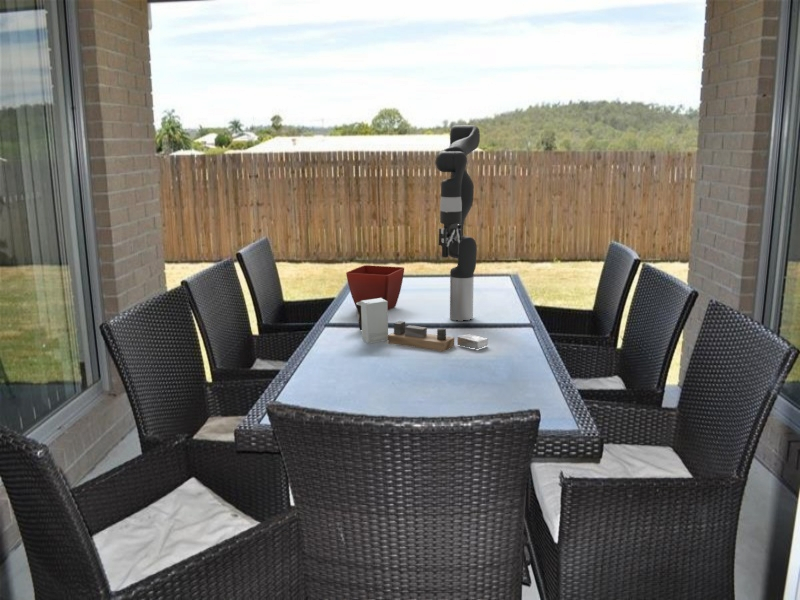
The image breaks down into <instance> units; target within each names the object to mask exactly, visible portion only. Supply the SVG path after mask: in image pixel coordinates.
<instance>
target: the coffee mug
mask: <svg viewBox="0 0 800 600" xmlns="http://www.w3.org/2000/svg"><path fill="white" fill-rule="evenodd" d="M356 306H357V308H356V311H357V319H358V327H359V331H361V330H362V319H361V302H357V303H356ZM356 306H355V307H356Z"/></svg>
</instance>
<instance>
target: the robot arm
mask: <svg viewBox="0 0 800 600" xmlns="http://www.w3.org/2000/svg"><path fill="white" fill-rule="evenodd" d="M480 133H481V132H480V129H479V127H478V126H477V125H473V124H471V125H470V124H469V125H468V124H463V125H461V124H456V125H455V124H454V125H452V126H451V127H450V133H449V146H448V147H447V148H444V149H442V150H441V151H439V153H438V154H437V155H436V159H435V166H436V169H437V170H438V171H439V172H442V173H450V177H449V178H446V179H443V180H442V181H441V182H440V202H439V204H440V206H439V210H440V211H439V222H440V224H442V225H443V227H439V229H438V246H440V247H441V257H442V258H444V259H445V258H449V257H450V258H453V259H456V260H457V264H456V265H457V266H455V267H452V268H451V269H450V271H449V274H450V276H449V278H450V279H449V320H451V321H456V320H458V321H457V322H464V321H463V320H468V321H471V320H470V319H472V318H473V319H474V277H475V276H474V275H475V274H474V273H475V271H476V267H477V266H476V265H477V256H478V255H477V254H478V249H477V248H478V246H477V242H476V240H475V239H474V238H473V237H472V236H467V235H464V225H465V221H466V219H467V216H468V214H469V213H470V210H471V209H472V206H473V203H474V190H475V189H474V187H475V186H474V182H473V180H472V178H471V176H470V175H469V173H468V171H467V170H466V167H467V164H468V163H467V162H468V158H467V156H468V155H469V154H471V153H472V152H473V151H475V150H476V149H477V148H478V147H479V145H480V139H481V134H480ZM473 319H472V320H473Z"/></svg>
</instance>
